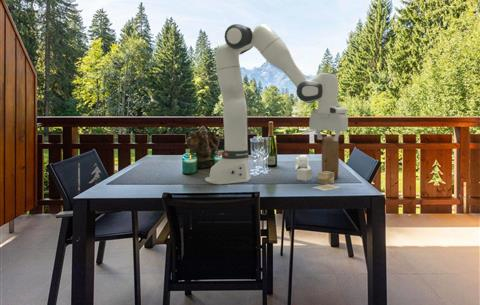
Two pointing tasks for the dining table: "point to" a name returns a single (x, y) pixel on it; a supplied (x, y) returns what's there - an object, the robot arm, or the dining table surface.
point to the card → (326, 187)
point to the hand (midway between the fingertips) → (327, 140)
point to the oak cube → (325, 177)
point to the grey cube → (304, 174)
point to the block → (330, 155)
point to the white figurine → (302, 162)
